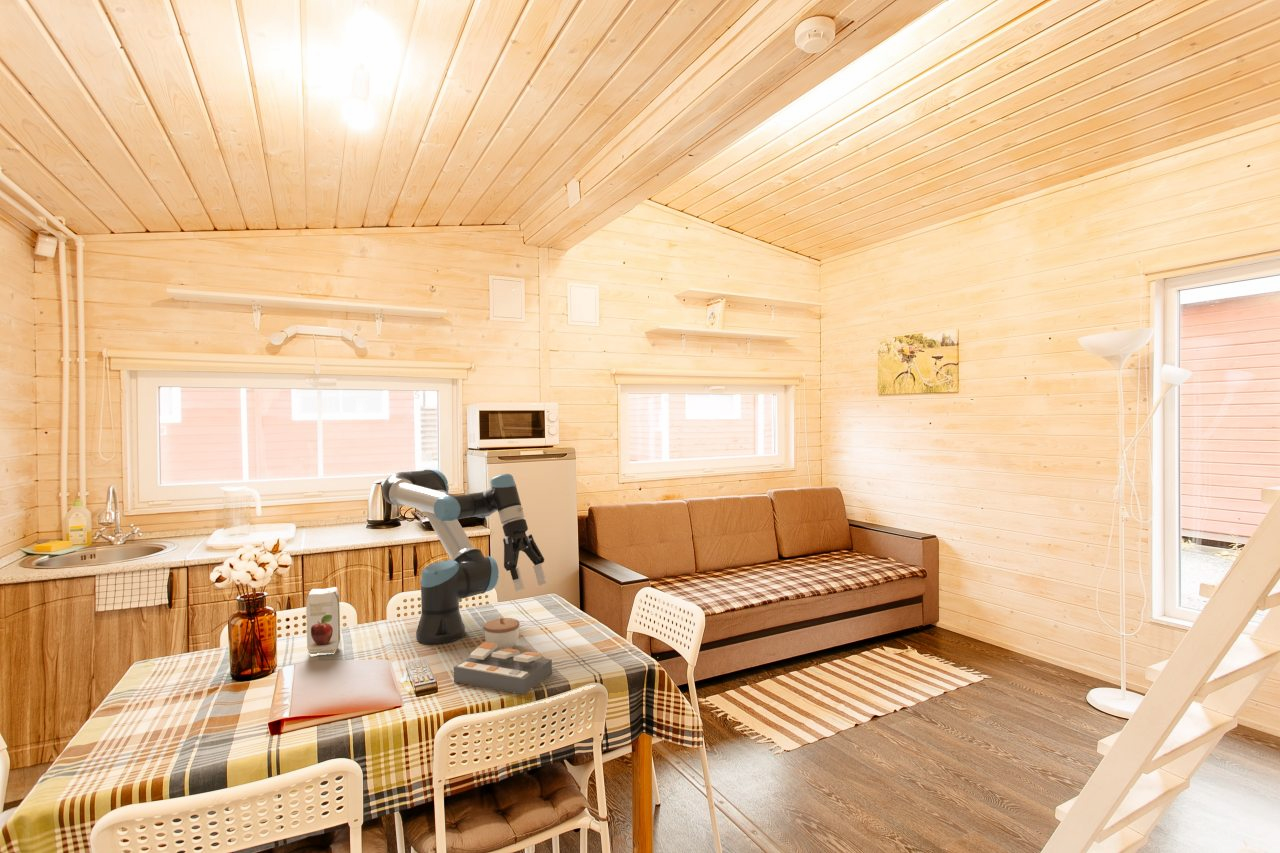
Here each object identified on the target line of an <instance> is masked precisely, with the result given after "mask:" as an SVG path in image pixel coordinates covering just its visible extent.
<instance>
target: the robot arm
mask: <svg viewBox="0 0 1280 853" xmlns="http://www.w3.org/2000/svg"><path fill="white" fill-rule="evenodd" d="M489 483H490V488H489V489H487V490H485V491H481V492H473V493H466V494H465V493H464V494H453V493H449V488H450V487H449V485H448V484H449V482H448V479H447V477H446V476H445V474H444V473H443V472H441V471H440V470H438V469H424V470H415V471H401V472H400V471H399V472H396V473H394V474H391V475H390V476H388V477H387V478H386V479H385V481H384V482H383V483H382V484H383V485H382V486H381V487H382V488H381V493H382V497H383V499H384V500H385V501H386V502H387V503H389V505H390V504H391V505H393V506H397V507H404V506H407V507H411V508H413V509H416V510H418V512H421V513H424V515H425V516H426V518H427V520H428V522H429V523H430V525H431V526H432V527H431V528H432V529H433V530H434V532H435V535H436V536H437V538H438V539H439V541H440V543H441V545H442V547H443V548H444V550H445V552H446V555H448V557H449V559H446V560H440V561H435V562H432V563H430V564H428V565H427V566H425V567H424V568H423V569H422V571H421V573H420V592H421V593H420V596H421V599H420V600H421V602H420V604H421V615H420V618H419V621H418V625H417V629H416V631H415V632H416V633H415V635H416V636H415V638H416V639H417V640H418V641H420V642H419V643H421V642H423V643H422V644H425V643H428V644H427V645H441V644H446V643H451V642H455V641H457V640H460V639H461V638H463V637H464V636H465V635H466V627H465V626H466V625H465V623H464V622H463V618H462V615H461V612H460V600H463V599H466V598H469V597H473V596H477V595H478V596H479V595H483V594H485V593H487V592H488V593H489V592H490V591H492V590H494V588H495V587H496V586H497V584H498V581H499V565H498V563H497V561H496V559H495V558H493V557H492V556H489V555H487V556H485V555H484V554H483V552H482V550H481V549H479V548H477V547H476V548H475V547H474V546H473V544H472V542H471V540H470V538H469V537H468V535H467V533H466V532H465V530H464V528H463V527H462V525H461V523H460V522H459V520H462V519H465V518H473V517H476V518H479V519H484V518H486V517H490V516H491V515H493V514H494V513H496V512H498V517H499V520H500V523H501V525H502V531H503V534H504V537H505V538H503V539H502V541H503V568H504V569H505V570H506V571H507V572H509V571H510V575H511V580H512V583H513V585H514V589H515V592H518V591H521V590H524V589H525V586H524V581H523V578H522V575H521V570H520V567H518V561H519V557H520V556H519V555H520V551H521V552H523V553H525V555H526V556H527V557H528V559H529V560H530V562H532V564H534V565H533V567H532V568H533V570H534V574H535V577H536V581H537V586H539V587H540V586H542V585H545V584H547V579H546V575H545V571H544V569H543V563H545V558H544V556H543V554H542V552H541V551H540V549H539V547H538V545H537V543H536V541H535V540H534V537H533V534H532V533H531V534H528V535H527V534H526V532H527V531H528V529H529V528H528V523H527V520H526V518H525V514H524V510H523V507H522V503H521V500H520V496H519V492H518V487H517V484H516V482H515V479H514V476H513V474H510V473H504V474H503V473H502V474H500V475H497V476H494V477H492V478H491V479H490V482H489ZM417 640H416V641H417ZM418 641H417V642H418ZM440 643H441V644H440Z"/></svg>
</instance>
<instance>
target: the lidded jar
mask: <svg viewBox="0 0 1280 853" xmlns="http://www.w3.org/2000/svg"><path fill="white" fill-rule="evenodd" d="M483 634H484V639H485V642H492V643H497V644H498V647H497V648H496V649H495V650H496V651H500V650H502V649H505V648H509V649H513V647H514V646H515V645H516V644H517V642H518V640H519V636H520V621H519V620H518V619H517V618H516V619H515V618H512V617H499V618H494V619H491V620H488V621H486V622H485V623H484V624H483Z"/></svg>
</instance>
